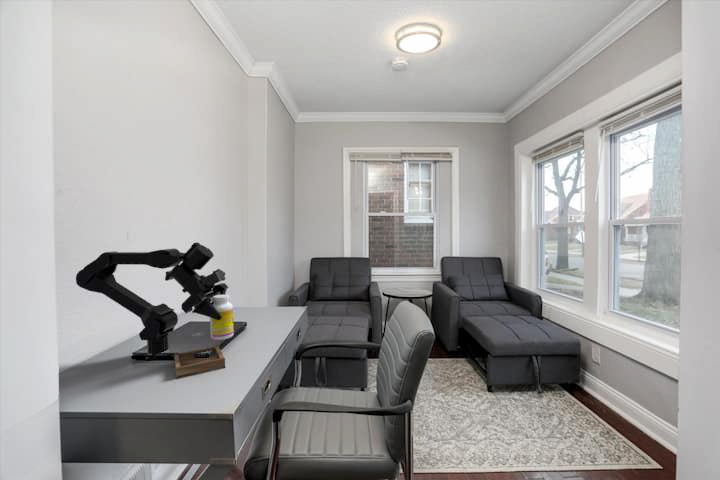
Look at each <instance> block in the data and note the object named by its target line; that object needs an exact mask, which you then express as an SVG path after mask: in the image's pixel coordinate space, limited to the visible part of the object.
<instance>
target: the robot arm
mask: <svg viewBox="0 0 720 480" xmlns="http://www.w3.org/2000/svg"><path fill="white" fill-rule="evenodd" d="M214 256H215V255H214V253H213V251H212V250H211V249H210V247H209V248H208V247H207V246H205V245H203V244H201V243H200V242H193V244H192V245H191V246H190V247H189V249H187V250H186V252H181V251H179V249H177V248H165V249H158V250H152V251H148V252H147V251H143V252H141V251H137V252H136V251H121V252H120V251H116V250H115V251H105V252H103V253H101V254H100V255H99V256H98V257H97V258H96V259H94V260H93V261H91V262H90V263H88V264H86V266H85V267H84V268H82V269H81V270H79V271H78V272H77V273H76V275H75V283H76V285H77V286H78V287H79V288H81V289H84V290H86V291H89V292H92V293H98V294H102V295H104V296H105V297H107V298H109V299H110V300H111V301H114V303H116V304H118V305H120V306H121V307H123V308H125V309H126V310H128V311H129V312H130V313H132V314H134V315H135V316H136V317H138V318H140V320H141V323H142V325H143V326H144V328H143V329H141V331H140V332H139V333H138V335H139V337H140V341H146V342H147V343H146V344H147V345H146V346H147V347H146V348H147V352H148V353H152V357H146V356H145V361H150V360H157V358H156V356H155V355H156V354H158V353H161V352H164V351H166V350H168V349H169V348H170V346H169V345H170V343H169V340H170V338H169V334H170V333H172V332H174V330H175V327H176V325H177V324H178V321H179V318H178V314H177V313H176V312H175V309H174V308H171V307H169V306H168V305H167V304H166V303H164V302H162V303H161V304H160V303H159V304H157V305H154V304H152V303H150V302H148V300H146V299H144V298H142V297H140V295H138V294H136V293H134V292H133V291H131V290H130V289H128V288H127V287H125V286H123V285H122V284H120V283H119V282H118V281H116V277H115V275H114V274H115V273H116V271H117V267H118V266H119V265H134V266H135V265H144V266H149V267H152V268H156V269H168V268H172V269H171V270H169V271H165V277H164V281H166V282H167V281H171V280H175V281H176V282H177V283H178V284H179V285H180V287H182V288H183V289H181V292H183V293H184V294H185V293H188V294H189V296H188V297H187V298H186V299H185V300H184V301H183V302H182V303H181V310H182V311H183V312H184V313H185V314H188V313H192V314H194V313H195V314H197V315H198V314H199V315H202V316H204V317H205V316H206V317H208V318H210V317H211V318H214V319H217V320H220V319H221V318H222V317H221V315H220V314H219V313H218V311H217V310H216V309H215V308H214V306H213V304H214V302H213V296H216V295H226V292H227V290H228V289H229V286H228V285H227V284H226V282H224V281H226V277H225V275H226V272H225V271H223V270H221V268H217V269H215V270H213V271H212V273H211V274H208V275H206V276H205V275H204V274H202V275H200V274H199V273H197V271H196V270H198V271H201V270H203V268H204V267H205V266H206V265H207V264H208V262H210V261H211V259H212V258H214ZM219 282H220V283H219ZM222 282H223V283H222ZM193 308H194V309H193Z"/></svg>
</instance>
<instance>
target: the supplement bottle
mask: <svg viewBox="0 0 720 480" xmlns="http://www.w3.org/2000/svg"><path fill="white" fill-rule="evenodd" d="M229 300H230V295H229V294H225V295H216V296H213V302H214V304H213V306H214V308H215V309H216V310H217V311H218V313H219V314H220V315H221V317H222V318H221V319H220V320H217V319H214V318H211V317H209V329H210V332H209V333H210V339H211V340H214V341H222V340H228V339H230V338H232V337H234V330H235V329H234V305H233V304H232V303H231V302H229Z"/></svg>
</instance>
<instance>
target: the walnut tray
mask: <svg viewBox="0 0 720 480" xmlns="http://www.w3.org/2000/svg"><path fill="white" fill-rule="evenodd" d="M210 350H211V351H213V355H212V356H211V357H209V358H195V357H194V354H197V353H201V352H206V351H210ZM173 356H174V369H175V375H176V376H175V377H176V379H181V378H185V377H190V376H194V375H199V374H202V373H203V374H204V373H208V372H213V371H216V370H221V369H225V368H226V358H225V356H224V354H223V352H222V351H221V349H220V347H219V345H217V346H212V347H205V348H201V349H197V350H196V349H195V350H191V351H184V352H180V353H174V355H173Z"/></svg>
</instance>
